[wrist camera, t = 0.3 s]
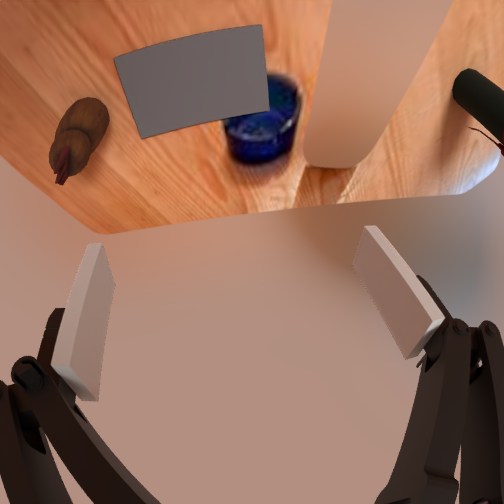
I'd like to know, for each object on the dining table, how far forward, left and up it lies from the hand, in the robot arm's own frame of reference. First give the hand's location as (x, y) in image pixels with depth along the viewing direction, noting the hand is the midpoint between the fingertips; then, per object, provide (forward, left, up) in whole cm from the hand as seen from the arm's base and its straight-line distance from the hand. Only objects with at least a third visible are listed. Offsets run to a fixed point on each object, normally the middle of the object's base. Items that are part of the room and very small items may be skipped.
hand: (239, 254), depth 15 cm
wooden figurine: (+13, -8, -27) cm, 31 cm away
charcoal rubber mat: (+2, 0, -27) cm, 27 cm away
